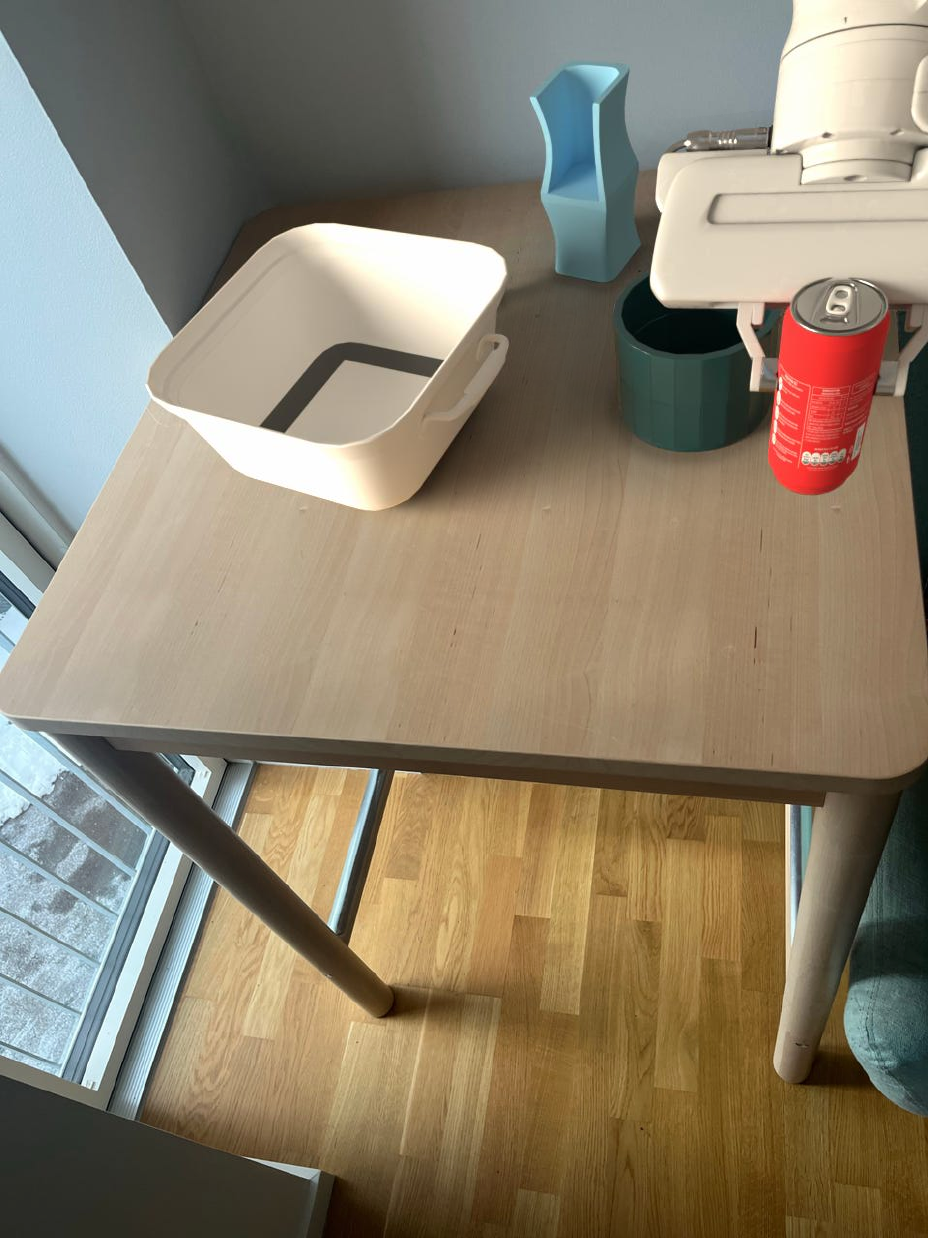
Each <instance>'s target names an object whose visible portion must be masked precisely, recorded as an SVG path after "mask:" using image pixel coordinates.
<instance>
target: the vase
mask: <svg viewBox="0 0 928 1238" xmlns="http://www.w3.org/2000/svg"><path fill="white" fill-rule="evenodd" d="M630 70H631V69H630V66H629V65H628V64H627V63H626V64H625V63H619V62H607V61H595V60H580V59H579V60H578V59H573V60H569V61H566V62H564V63H561V64H560V65H559V66H558V67H557V68H556V69H555V70H554V71H552V73H551V74H550V75H549V76H548V77H547V78H546V79H545V80H544V81H543V82H542V83H541V84H540V86H538V88H537V89H536V90H535V91H534V92H533V93H532V94H531V95H530V96H529V101H530V103H531V106H532V107H533V109H534V112H535V114H536V116H537V118H538V121H539V123H540V127H541V130H542V133H543V137H544V142H545V155H546V156H545V169H544V173H543V178H542V184H541V189H540V199H541V203H542V206H543V207H544V210H545V212H546V214H547V216H548V219H549V222H550V224H551V228H552V231H553V235H554V242H555V265H554V266H555V268H554V269H555V272H556V273H557V274H558V275H562V276H567V277H571V278H575V279H576V278H577V279H583V280H587V281H591V282H592V281H593V282H596V283H609V282H611V281H613V280H615V279H616V278H617V277H618V276H619V274H621V272H622V271H623V269H624V268H625V267H626V266H627V264H628V263H629V261H630V260H631V259H632V257H633V256H634V255H635V254H636V252H637V251H638V249H640V247H641V246H642V243H641V239H640V237H639V234H638V230H637V226H636V221H635V213H634V211H635V195H636V189H637V183H638V177H639V176H638V175H639V172H640V164H639V163H640V162H639V159H638V158H637V156H636V153H635V151H634V148H633V146H632V144H631V141H630V138H629V134H628V130H627V125H626V95H627V88H628V83H629V77H630Z"/></svg>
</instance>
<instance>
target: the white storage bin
mask: <svg viewBox="0 0 928 1238" xmlns="http://www.w3.org/2000/svg"><path fill="white" fill-rule="evenodd" d="M508 278H509V270H508V265H507V260H506V259H505V258H504V257H503V256H502V255H501V254H499V252H497V251H496V250H495V249H494V248H493V247H490V246H486V245H483V244H480V243H477V242H473V241H467V240H457V239H451V238H443V237H438V236H437V237H436V236H430V235H429V236H428V235H422V234H415V233H407V232H400V231H393V230H385V229H378V228H371V227H364V226H357V225H349V224H342V223H336V222H319V223H318V222H314V223H310V224H306V225H302V226H301V225H300V226H297V227H293V228H291V229H289V230H287V231H284V232H283V233H280V234H278V235H276V236H274V237H272V238H271V239H270V240H269V241H267V242H266V243H265V244H263V245H262V246H261V247H260V248H258V249H257V250H256V251H255V253H253V254H252V256H251V257H250V258H249V259H248V260H247V261H246V262H245V263H244V264H243V265H242V266H241V267H240V268H239V269H238V270H237V271H236V272H235V273H234V274H233V276H232V277H231V278H230V279H229V280H228V281H227V282H226V283H225V284H224V285H222V287H221V288H219V290H218V291H217V292H216V293H215V294H214V295H213V296H212V297H211V298H210V300H209V301H207V303H205V305H204V306H203V307H202V308H201V309H200V310H199V311H198V312H197V313H196V314H195V315H194V316H193V317H192V318H191V319H190V320H189V321H188V323H186V324H185V325H184V327H182V328H181V329H180V330H179V332H178V333H176V335H175V336H174V337H173V338H172V339H171V340H170V341H169V342H168V343H167V344H166V345H165V346H164V347H163V348H162V349H161V350H160V352H159V353H158V354H157V356H156V357H155V358H154V360H153V361H152V363H151V364H150V366H149V367H148V370H147V371H148V372H147V377H146V382H145V387H146V389H147V391H148V393H149V395H150V397H151V398H152V400H153V401H154V402H156V403H157V404H158V405H160V406H162V407H163V408H164V409H166V410H167V411H168V412H170V413H172V414H174V415H176V416H178V417H179V418H181V419H183V420H186V422H188V423H189V424H190V425H191V427H192V428H194V430H195V431H196V432H198V433H199V434H200V436H201V437H202V438H203V439H204V440H206V442H207V443H208V444H209V445H210V446H211V447H212V448H213V449H214V450H215V451H216V452H217V453H218V454H219V455H220V456H221V457H222V458H223V459H224V460H225V461H226V462H227V463H228V464H229V465H230V466H231V467H232V468H233V469H234V470H236V471H237V472H239V473H241V474H243V475H244V476H246V477H250V478H252V479H256V480H259V481H262V482H266V483H269V484H273V485H276V486H279V487H283V488H286V489H289V490H293V491H296V492H300V493H303V494H307V495H310V496H313V497H317V498H320V499H324V500H327V501H330V502H334V503H337V504H341V505H343V506H347V507H350V508H354V509H358V510H364V511H374V512H377V511H381V510H386V509H390V508H393V507H395V506H397V505H400V504H402V503H404V502H406V501H408V500H410V499H411V498H412V497H413V496H414V495H415V494H416V493H417V492H418V491H419V490H420V489H421V487H422V486H423V484H424V483H425V481H426V480H427V478H428V477H429V476H430V474H431V473H432V471H433V470H434V469H435V467H436V466H437V464H438V463H439V461H440V460H441V459H442V457H443V455H444V454H445V453H446V451H447V450H448V448H449V447H450V445H451V444H452V442H453V441H454V440H455V438H456V437H457V435H458V434H459V432H460V431H461V429H462V428H463V426H465V424H466V422H467V421H468V419H469V418H470V417H471V415H472V414H473V412H474V410H475V409H476V408H477V406H478V405H479V403H480V402H481V401H482V399H483V398H484V396H485V395H486V392H487V391H488V389H490V386H491V385H492V384H493V382H494V381H495V380H496V378H497V376H498V374H500V371H501V369H502V367H504V364H505V362H506V359H507V358H506V355H507V354H508V349H509V346H510V343H509V339H508V337H507V336H505V335H504V334H501V333H496V327H497V326H496V324H497V311H498V308H499V306H500V304H501V302H502V299H503V297H504V294H505V291H506V287H507V282H508ZM495 343H498V346H497V348H496V349H495V348H494V347H495Z"/></svg>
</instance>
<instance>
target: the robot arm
mask: <svg viewBox="0 0 928 1238" xmlns="http://www.w3.org/2000/svg"><path fill="white" fill-rule="evenodd" d="M778 67H779V68H778V77H777V86H776V92H775V93H776V94H775V101H774V102H775V103H774V112H773V120H772V121H773V122H772V124H771V126H768V127H767V126H760V127H747V128H745V127H744V128H736V129H731V130H726V131H724V130H721V131H713V130H707V129H702V130H700V129H699V130H695V131H691V132H688V133H687V134H686V138H685V139H681V140H679V141H676V142H674V143H673V144H672V145H670V146H669V147H668V148H666V150H665V151H664V152H663V154H662V155H661V157H660V159H659V160H658V161H659V162H658V164H657V168H656V175H655V186H654V203H655V205H656V208H657V210H658V212H659V213H660V215H661V216H660V220H659V224H658V229H657V234H656V237H655V243H654V247H653V248H654V249H653V254H652V261H651V266H650V269H651V275H650V286H651V290H652V292H653V293H654V295H655V296H656V298H657V299H658V300H659V301H660V302H661V303H662V304H663V305H664V306H665V307H668V308H703V309H738V315H737V324H736V325H737V329H738V331H739V333H740V336H741V338H742V340H743V342H744V344H745V346H746V349H747V351H748V353H749V355H750V357H751V360H753V364H752V373H751V382H750V392H772V393H775V392H777V384H778V378H777V373H778V365H779V357H776V358H765V355H764V352H763V350H762V348H761V346H760V344H759V341H758V339H757V337H756V335H755V332H754V330H753V328H754V329H761V328H763V322H764V314H765V309H781V310H787V308H788V307H789V306H790V303H791V300H792V298H793V296H794V295H795V293H796V292H797V291H798V290H799V289H800V288H802V287H803V286H804V285H806V284H808V283H811V282H813V281H816V280H819V279H823V278H828V277H833V278H832V279H830V280H827V281H825V282H828V281H835V280H846V281H853V280H851V279H849V278H848V277H853V278H858V279H862V280H865V281H868V282H870V283H872V284H874V285H876V286H877V287H878V288H880V289H881V290H882V291H883V292H884V294H885V295H886V297H887V300H888V310H889V312H891V311H894V312H896V311H898V312H899V311H901V312H902V311H903V312H905V321H904V328H903V331H905V333H913V332H914V334H913V335H912V336H911V338H910V339H909V340H908V342H907V343H906V345H904V347H903V348H902V350H901V351H900V352H899V353H898V355H897V356H896V358H895V359H894V360H882V361H881V365H880V369H879V373H878V378H877V382H876V386H875V391H874V395H873V397H886V398H902V397H904V396H905V393H906V388H907V381H908V375H909V368H910V363H912V362H913V361H914V359H915V358H916V357H917V356H918V354H919V353H920V352H921V350H922V349H923V348H924V347H925V346H926V344H927V343H928V0H792V19H791V26H790V30H789V32H788V35H787V38H786V40H785V43H784V46H783V48H782V51H781V56H780V60H779V66H778ZM684 148H685V151H679V150H682V149H684ZM853 282H855V281H853ZM752 327H753V328H752Z"/></svg>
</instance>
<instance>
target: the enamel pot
mask: <svg viewBox="0 0 928 1238" xmlns="http://www.w3.org/2000/svg"><path fill="white" fill-rule="evenodd" d="M650 275H651V268H650V269H648V270H646V271H644V272H642V273H641V274H639V275H638V276H636V277H635V278H633V280H631V281H630V282H629V283H627V284H626V285H625V286H624V288H623V289H622V291H621V292H620V293H619V295H618V296H617V298H616V299H615V301H614V306H613V312H612V317H611V318H612V331H613V333H612V334H613V346H614V348H613V349H614V361H615V362H614V363H615V377H616V392H617V393H616V394H617V404H618V409H619V414H620V418H621V420H622V421H623V423H624V425H625V426H626V428H627V429H628V430H629V432H631V433H632V434H633V435H634V436H635V437H636V438H638V439H639V440H641V441H643V442H645V443H646V444H648V445H651V446H654V447H656V448H658V449H662V450H666V451H671V452H678V453H702V452H708V451H714V450H719V449H722V448H725V447H728V446H731V445H732V444H735V443H737V442H739V441H741V440H743V439H744V438H746V437H748V436H750V434H752V433H754V431H755V430H757V428H758V427H759V426H760V425H761V424H762V423H763V422H764V420H765V418H766V416H767V415H768V413H769V410H770V406H771V403H772V396H773V395H772V394H773V392H750V382H751V373H752V364H753V360H751V357H750V355H749V353H748V351H747V349H746V346H745V344H744V342H743V340H742V338H741V336H740V333H739V331H738V329H737V325H736V324H737V315H738V309H703V308H668V307H665V306H664V305H663V304H662V303H661V302H660V301H659V300H658V299H657V298H656V296H655V295H654V293H653V292H652V290H651V286H650ZM781 314H782V309H765V314H764V322H763V328H761V329H754V328H753V327H752V328H753V330H754V332H755V335H756V337H757V339H758V341H759V344H760V346H761V348H762V350H763V352H764V355H765V358H777V352H778V351H777V349H778V341H779V333H780V323H781Z"/></svg>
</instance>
